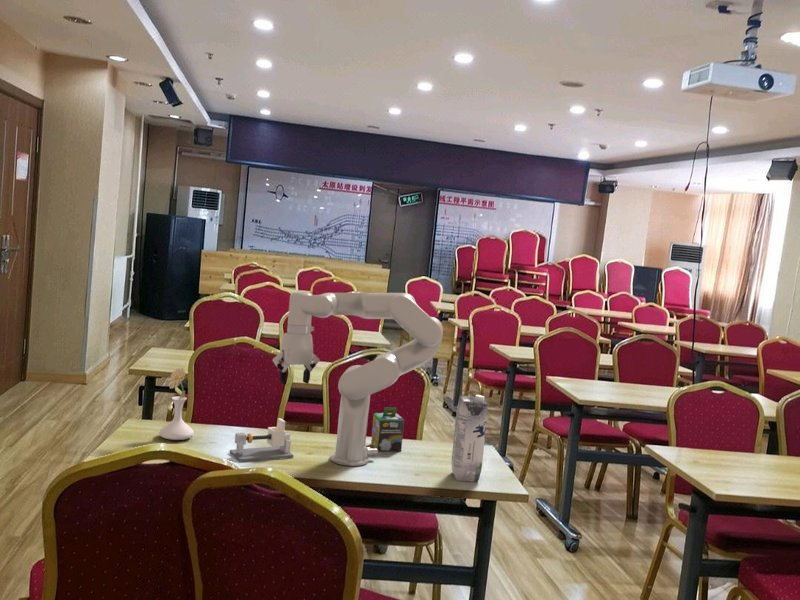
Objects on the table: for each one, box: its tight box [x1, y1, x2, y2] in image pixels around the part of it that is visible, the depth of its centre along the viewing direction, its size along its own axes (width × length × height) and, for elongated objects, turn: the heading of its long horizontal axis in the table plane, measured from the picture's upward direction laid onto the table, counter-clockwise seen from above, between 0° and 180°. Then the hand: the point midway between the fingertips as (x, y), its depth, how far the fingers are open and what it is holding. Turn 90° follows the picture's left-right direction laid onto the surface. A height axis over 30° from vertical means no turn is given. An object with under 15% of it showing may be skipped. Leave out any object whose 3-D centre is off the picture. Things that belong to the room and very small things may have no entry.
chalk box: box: [370, 407, 405, 452], centre depth 260 cm, size 9×9×15 cm
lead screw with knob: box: [246, 433, 272, 444], centre depth 238 cm, size 16×3×3 cm, turn 122°
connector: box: [234, 432, 247, 455], centre depth 234 cm, size 3×3×6 cm
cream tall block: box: [266, 417, 286, 447], centre depth 240 cm, size 4×5×8 cm
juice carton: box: [451, 394, 489, 483], centre depth 235 cm, size 9×10×27 cm
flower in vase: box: [158, 366, 195, 441], centre depth 246 cm, size 13×11×25 cm
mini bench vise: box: [229, 430, 294, 463], centre depth 238 cm, size 18×10×7 cm, turn 122°
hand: (294, 382), depth 241 cm, fingers open, 7 cm apart
